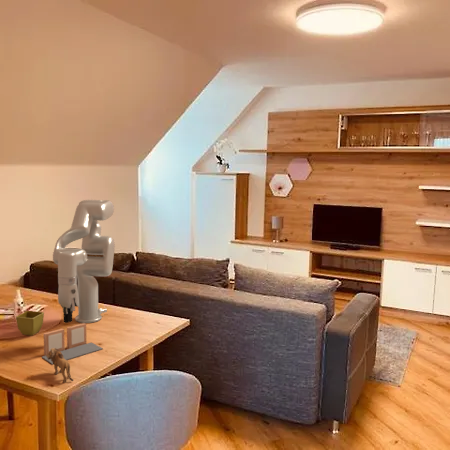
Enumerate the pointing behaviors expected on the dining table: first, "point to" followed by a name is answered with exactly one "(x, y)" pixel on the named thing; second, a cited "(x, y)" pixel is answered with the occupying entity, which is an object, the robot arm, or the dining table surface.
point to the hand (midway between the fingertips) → (67, 321)
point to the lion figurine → (59, 363)
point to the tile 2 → (76, 335)
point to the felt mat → (77, 351)
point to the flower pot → (30, 322)
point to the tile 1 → (54, 341)
